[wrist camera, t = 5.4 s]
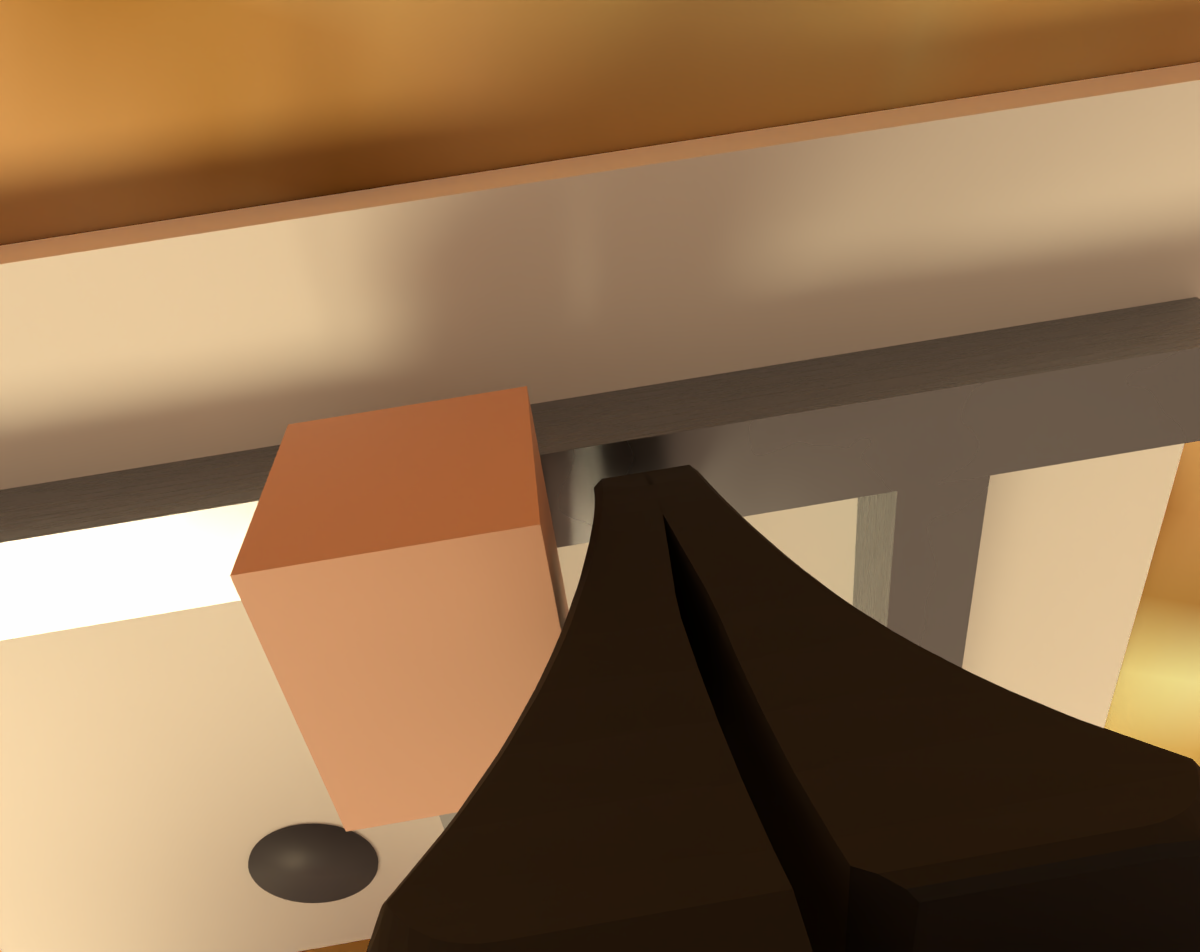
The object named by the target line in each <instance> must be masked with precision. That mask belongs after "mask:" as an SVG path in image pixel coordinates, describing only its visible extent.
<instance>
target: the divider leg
mask: <svg viewBox="0 0 1200 952" xmlns="http://www.w3.org/2000/svg"><path fill="white" fill-rule="evenodd" d="M230 577H231V579H232V581H233V584H234V586H235V588H236V590H237V593H238V595H239V597H240V599H241V601H242V604H243V606H244V608H245V610H246V612H247V615H248V617H249V619H250V621H251V623H252V626H253V628H254V630H255V632H256V634H257V637H258V639H259V641H260V643H261V645H262V648H263V650H264V652H265V654H266V657H267V659H268V661H269V663H270V665H271V668H272V670H273V672H274V674H275V676H276V679H277V681H278V683H279V685H280V687H281V690H282V692H283V694H284V696H285V698H286V701H287V703H288V705H289V707H290V709H291V712H292V714H293V716H294V718H295V721H296V723H297V725H298V727H299V729H300V732H301V734H302V736H303V738H304V740H305V743H306V745H307V747H308V749H309V751H310V754H311V756H312V758H313V760H314V762H315V765H316V767H317V769H318V771H319V773H320V776H321V778H322V780H323V782H324V785H325V787H326V789H327V791H328V793H329V796H330V798H331V800H332V802H333V804H334V807H335V809H336V811H337V813H338V815H339V818H340V820H341V822H342V824H343V826H344V829H345V831H346V832H347V831H353V830H359V829H365V828H370V827H376V826H382V825H387V824H393V823H399V822H405V821H410V820H416V819H422V818H427V817H433V816H439V817H440V819H441V822H442V825H443V828H444V830H445V828H446V827H447V826H448V824H449V823H450V822H451V820H452V819H453V818H454V816H455V815H456V814H457V812H458V811H459V809H460V808H461V807H462V805H463V804H464V802H465V801H466V799H467V798H468V796H469V795H470V794H471V792H472V791H473V789H474V788H475V786H476V785H477V783H478V782H479V781H480V779H481V778H482V776H483V775H484V773H485V772H486V770H487V769H488V768H489V766H490V765H491V763H492V762H493V760H494V759H495V757H496V756H497V754H498V753H499V751H500V749H501V748H502V746H503V745H504V743H505V741H506V740H507V738H508V736H509V735H510V733H511V731H512V730H513V728H514V726H515V724H516V723H517V721H518V719H519V717H520V715H521V714H522V712H523V710H524V708H525V706H526V704H527V703H528V701H529V699H530V697H531V695H532V694H533V692H534V690H535V688H536V686H537V684H538V682H539V680H540V678H541V676H542V674H543V672H544V669H545V667H546V665H547V663H548V661H549V659H550V657H551V654H552V652H553V650H554V648H555V645H556V643H557V640H558V638H559V636H560V633H561V631H562V628H563V626H564V623H565V620H566V617H567V614H568V612H569V610H568V604H567V599H566V594H565V588H564V583H563V577H562V572H561V567H560V561H559V556H558V551H557V545H556V540H555V535H554V529H553V524H552V518H551V513H550V508H549V502H548V497H547V492H546V486H545V481H544V475H543V470H542V465H541V459H540V454H539V449H538V443H537V438H536V433H535V427H534V422H533V416H532V411H531V406H530V400H529V395H528V390H527V386H524V387H518V388H512V389H506V390H499V391H493V392H487V393H481V394H475V395H468V396H462V397H456V398H450V399H443V400H437V401H431V402H425V403H419V404H412V405H406V406H400V407H394V408H387V409H381V410H375V411H369V412H363V413H356V414H350V415H344V416H338V417H331V418H325V419H319V420H313V421H307V422H300V423H294V424H288V426H287V429H286V431H285V434H284V437H283V439H282V442H281V444H280V447H279V450H278V452H277V455H276V457H275V460H274V463H273V465H272V468H271V470H270V473H269V476H268V478H267V481H266V483H265V486H264V489H263V491H262V494H261V496H260V499H259V502H258V504H257V507H256V509H255V512H254V515H253V517H252V520H251V522H250V525H249V528H248V530H247V533H246V535H245V538H244V541H243V543H242V546H241V548H240V551H239V554H238V556H237V559H236V561H235V564H234V567H233V569H232V572H231V574H230Z"/></svg>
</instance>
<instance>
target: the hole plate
mask: <svg viewBox="0 0 1200 952" xmlns="http://www.w3.org/2000/svg"><path fill="white" fill-rule="evenodd" d="M1192 297H1197V298H1199V299H1200V62H1196V63H1189V64H1183V65H1176V66H1170V67H1163V68H1157V69H1150V70H1144V71H1137V72H1131V73H1124V74H1117V75H1111V76H1104V77H1098V78H1091V79H1085V80H1078V81H1072V82H1065V83H1059V84H1052V85H1046V86H1039V87H1033V88H1026V89H1020V90H1013V91H1006V92H1000V93H993V94H987V95H980V96H974V97H967V98H961V99H954V100H948V101H941V102H935V103H928V104H922V105H915V106H908V107H902V108H895V109H889V110H882V111H876V112H869V113H863V114H856V115H850V116H843V117H837V118H830V119H824V120H817V121H810V122H804V123H797V124H791V125H784V126H778V127H771V128H765V129H758V130H752V131H745V132H739V133H732V134H726V135H719V136H712V137H706V138H699V139H693V140H686V141H680V142H673V143H667V144H660V145H654V146H647V147H641V148H634V149H628V150H621V151H614V152H608V153H601V154H595V155H588V156H582V157H575V158H569V159H562V160H556V161H549V162H543V163H536V164H530V165H523V166H517V167H510V168H503V169H497V170H490V171H484V172H477V173H471V174H464V175H458V176H451V177H445V178H438V179H432V180H425V181H419V182H412V183H405V184H399V185H392V186H386V187H379V188H373V189H366V190H360V191H353V192H347V193H340V194H334V195H327V196H321V197H314V198H307V199H301V200H294V201H288V202H281V203H275V204H268V205H262V206H255V207H249V208H242V209H236V210H229V211H223V212H216V213H209V214H203V215H196V216H190V217H183V218H177V219H170V220H164V221H157V222H151V223H144V224H138V225H131V226H125V227H118V228H111V229H105V230H98V231H92V232H85V233H79V234H72V235H66V236H59V237H53V238H46V239H40V240H33V241H27V242H20V243H14V244H7V245H0V490H3V489H9V488H15V487H21V486H28V485H34V484H40V483H46V482H52V481H59V480H65V479H71V478H77V477H83V476H90V475H96V474H102V473H108V472H114V471H121V470H127V469H133V468H139V467H145V466H151V465H158V464H164V463H170V462H176V461H182V460H189V459H195V458H201V457H207V456H213V455H220V454H226V453H232V452H238V451H244V450H251V449H257V448H263V447H269V446H275V445H280V444H281V442H282V439H283V437H284V434H285V431H286V429H287V426H288V424H294V423H300V422H307V421H313V420H319V419H325V418H331V417H338V416H344V415H350V414H356V413H363V412H369V411H375V410H381V409H387V408H394V407H400V406H406V405H412V404H419V403H425V402H431V401H437V400H443V399H450V398H456V397H462V396H468V395H475V394H481V393H487V392H493V391H499V390H506V389H512V388H518V387H524V386H527V390H528V395H529V400H530V404H536V403H542V402H548V401H554V400H560V399H567V398H573V397H579V396H585V395H591V394H598V393H604V392H610V391H616V390H622V389H629V388H635V387H641V386H647V385H653V384H660V383H666V382H672V381H678V380H684V379H691V378H697V377H703V376H709V375H715V374H721V373H728V372H734V371H740V370H746V369H752V368H759V367H765V366H771V365H777V364H783V363H790V362H796V361H802V360H808V359H814V358H821V357H827V356H833V355H839V354H845V353H852V352H858V351H864V350H870V349H876V348H883V347H889V346H895V345H901V344H907V343H914V342H920V341H926V340H932V339H938V338H945V337H951V336H957V335H963V334H969V333H975V332H982V331H988V330H994V329H1000V328H1006V327H1013V326H1019V325H1025V324H1031V323H1037V322H1044V321H1050V320H1056V319H1062V318H1068V317H1075V316H1081V315H1087V314H1093V313H1099V312H1106V311H1112V310H1118V309H1124V308H1130V307H1137V306H1143V305H1149V304H1155V303H1161V302H1168V301H1174V300H1180V299H1186V298H1192ZM1183 447H1184V443H1183V444H1177V445H1171V446H1165V447H1159V448H1153V449H1147V450H1141V451H1135V452H1129V453H1123V454H1117V455H1111V456H1105V457H1099V458H1093V459H1087V460H1081V461H1075V462H1069V463H1063V464H1057V465H1051V466H1045V467H1039V468H1033V469H1027V470H1021V471H1015V472H1009V473H1003V474H997V475H991V476H990V479H989V486H988V493H987V500H986V506H985V513H984V520H983V527H982V534H981V541H980V548H979V555H978V561H977V568H976V575H975V582H974V589H973V596H972V603H971V609H970V616H969V623H968V630H967V637H966V644H965V651H964V658H963V664H962V668H963V669H965V670H967V671H969V672H971V673H973V674H975V675H977V676H979V677H981V678H984V679H986V680H988V681H990V682H992V683H994V684H996V685H999V686H1001V687H1003V688H1005V689H1007V690H1009V691H1012V692H1014V693H1017V694H1019V695H1021V696H1024V697H1026V698H1029V699H1031V700H1033V701H1036V702H1038V703H1040V704H1043V705H1045V706H1048V707H1050V708H1052V709H1055V710H1057V711H1059V712H1062V713H1064V714H1067V715H1069V716H1072V717H1074V718H1077V719H1079V720H1082V721H1085V722H1088V723H1091V724H1093V725H1096V726H1099V727H1102V728H1104V726H1105V722H1106V719H1107V715H1108V712H1109V708H1110V705H1111V701H1112V698H1113V694H1114V691H1115V687H1116V683H1117V680H1118V676H1119V673H1120V669H1121V666H1122V662H1123V659H1124V655H1125V652H1126V648H1127V645H1128V641H1129V638H1130V634H1131V631H1132V627H1133V623H1134V620H1135V616H1136V613H1137V609H1138V606H1139V602H1140V599H1141V595H1142V592H1143V588H1144V585H1145V581H1146V578H1147V574H1148V571H1149V567H1150V563H1151V560H1152V556H1153V553H1154V549H1155V546H1156V542H1157V539H1158V535H1159V532H1160V528H1161V525H1162V521H1163V518H1164V514H1165V511H1166V507H1167V503H1168V500H1169V496H1170V493H1171V489H1172V486H1173V482H1174V479H1175V475H1176V472H1177V468H1178V465H1179V461H1180V458H1181V454H1182V451H1183ZM857 504H858V498H853V499H847V500H841V501H835V502H829V503H823V504H817V505H811V506H805V507H799V508H793V509H787V510H781V511H775V512H769V513H763V514H757V515H751V516H745V517H743V518H744V519H746V520H747V521H748V522H749V523H750V524H751V525H752V526H753V527H754V528H755V529H756V530H758V531H759V532H760V533H761V534H762V535H763V536H764V537H766V538H767V539H768V540H769V541H770V542H771V543H772V544H774V545H775V546H776V547H777V548H778V549H779V550H780V551H782V552H783V553H784V554H785V555H786V556H787V557H789V558H790V559H791V560H792V561H794V562H795V563H796V564H797V565H799V566H800V567H801V568H802V569H803V570H805V571H806V572H807V573H809V574H810V575H811V576H813V577H814V578H815V579H817V580H818V581H819V582H821V583H822V584H823V585H825V586H826V587H827V588H828V589H830V590H831V591H833V592H834V593H835V594H837V595H838V596H840V597H841V598H842V599H844V600H845V601H847V602H848V603H850V604H851V605H852V606H853V587H854V566H855V545H856V524H857ZM588 545H589V543H583V544H577V545H571V546H565V547H559V548H557V551H558V556H559V561H560V567H561V572H562V577H563V583H564V588H565V594H566V599H567V604H568V610H569V609H570V606H571V603H572V600H573V598H574V595H575V592H576V589H577V586H578V583H579V580H580V576H581V572H582V568H583V564H584V561H585V557H586V553H587V549H588ZM443 831H444V828H443V825H442V822H441V819H440V817H439V816H433V817H427V818H422V819H416V820H410V821H405V822H399V823H393V824H387V825H382V826H376V827H370V828H365V829H359V830H353V831H347V832H346V831H345V829H344V826H343V824H342V822H341V820H340V818H339V815H338V813H337V811H336V809H335V807H334V804H333V802H332V800H331V798H330V796H329V793H328V791H327V789H326V787H325V785H324V782H323V780H322V778H321V776H320V773H319V771H318V769H317V767H316V765H315V762H314V760H313V758H312V756H311V754H310V751H309V749H308V747H307V745H306V743H305V740H304V738H303V736H302V734H301V732H300V729H299V727H298V725H297V723H296V721H295V718H294V716H293V714H292V712H291V709H290V707H289V705H288V703H287V701H286V698H285V696H284V694H283V692H282V690H281V687H280V685H279V683H278V681H277V679H276V676H275V674H274V672H273V670H272V668H271V665H270V663H269V661H268V659H267V657H266V654H265V652H264V650H263V648H262V645H261V643H260V641H259V639H258V637H257V634H256V632H255V630H254V628H253V626H252V623H251V621H250V619H249V617H248V615H247V612H246V610H245V608H244V606H243V604H242V601H241V600H240V601H234V602H228V603H222V604H216V605H210V606H204V607H198V608H192V609H186V610H180V611H174V612H168V613H162V614H156V615H150V616H144V617H138V618H132V619H126V620H120V621H114V622H108V623H102V624H96V625H90V626H84V627H78V628H72V629H66V630H60V631H54V632H48V633H42V634H36V635H30V636H24V637H18V638H12V639H6V640H0V950H1V951H2V952H299V951H305V950H310V949H316V948H321V947H327V946H333V945H338V944H344V943H349V942H355V941H360V940H366V939H371V936H372V933H373V930H374V927H375V924H376V921H377V918H378V915H379V912H380V909H381V907H382V905H383V903H384V902H385V901H386V900H387V898H388V897H389V896H390V895H391V894H392V893H393V892H394V890H395V889H396V888H397V887H398V885H399V884H400V883H401V882H402V881H403V879H404V878H405V877H406V876H407V875H408V873H409V872H410V871H411V870H412V869H413V867H414V866H415V865H416V864H417V862H418V861H419V860H420V859H421V858H422V856H423V855H424V854H425V853H426V852H427V850H428V849H429V848H430V847H431V846H432V844H433V843H434V842H435V841H436V840H437V838H438V837H439V836H440V835H441V833H442V832H443Z"/></svg>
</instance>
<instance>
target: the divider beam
mask: <svg viewBox="0 0 1200 952" xmlns="http://www.w3.org/2000/svg"><path fill="white" fill-rule="evenodd" d="M530 406H531V411H532V416H533V422H534V427H535V433H536V438H537V443H538V449H539V454H540V459H541V465H542V470H543V475H544V481H545V486H546V492H547V497H548V502H549V508H550V513H551V518H552V524H553V529H554V535H555V540H556V545H557V548H559V547H565V546H571V545H577V544H583V543H589V541H590V536H591V530H592V525H593V518H594V508H595V494H594V487H595V486H596V484H597V483H598V482H599V481H600V480H601V479H604V478H610V477H616V476H622V475H628V474H634V473H641V472H647V471H653V470H659V469H665V468H671V467H678V466H684V465H691V466H692V467H693V468H695V469H696V470H697V471H698V472H699V473H700V474H701V475H702V476H703V477H704V478H705V479H706V480H707V481H708V482H709V484H710V485H711V486H712V487H713V488H714V489H715V490H716V491H717V492H718V493H719V494H720V495H721V496H722V497H723V498H724V499H725V500H726V501H727V502H728V503H729V504H730V505H731V506H732V507H733V508H734V509H735V510H736V511H737V512H738V513H739V514H740V515H741V516H742V517H745V516H751V515H757V514H763V513H769V512H775V511H781V510H787V509H793V508H799V507H805V506H811V505H817V504H823V503H829V502H835V501H841V500H847V499H853V498H858V504H857V524H856V545H855V566H854V587H853V606H854V607H855V608H857V609H859V610H860V611H862V612H863V613H865V614H866V615H868V616H870V617H871V618H873V619H874V620H876V621H878V622H879V623H881V624H882V625H884V626H886V627H887V628H889V629H890V630H892V631H894V632H895V633H897V634H899V635H901V636H903V637H904V638H906V639H908V640H910V641H911V642H913V643H915V644H917V645H918V646H920V647H922V648H924V649H926V650H928V651H930V652H932V653H934V654H936V655H938V656H940V657H942V658H943V659H945V660H947V661H949V662H951V663H953V664H955V665H957V666H959V667H961V668H962V664H963V658H964V651H965V644H966V637H967V630H968V623H969V616H970V609H971V603H972V596H973V589H974V582H975V575H976V568H977V561H978V555H979V548H980V541H981V534H982V527H983V520H984V513H985V506H986V500H987V493H988V486H989V479H990V476H991V475H997V474H1003V473H1009V472H1015V471H1021V470H1027V469H1033V468H1039V467H1045V466H1051V465H1057V464H1063V463H1069V462H1075V461H1081V460H1087V459H1093V458H1099V457H1105V456H1111V455H1117V454H1123V453H1129V452H1135V451H1141V450H1147V449H1153V448H1159V447H1165V446H1171V445H1177V444H1183V443H1189V442H1195V441H1200V299H1199V298H1197V297H1192V298H1186V299H1180V300H1174V301H1168V302H1161V303H1155V304H1149V305H1143V306H1137V307H1130V308H1124V309H1118V310H1112V311H1106V312H1099V313H1093V314H1087V315H1081V316H1075V317H1068V318H1062V319H1056V320H1050V321H1044V322H1037V323H1031V324H1025V325H1019V326H1013V327H1006V328H1000V329H994V330H988V331H982V332H975V333H969V334H963V335H957V336H951V337H945V338H938V339H932V340H926V341H920V342H914V343H907V344H901V345H895V346H889V347H883V348H876V349H870V350H864V351H858V352H852V353H845V354H839V355H833V356H827V357H821V358H814V359H808V360H802V361H796V362H790V363H783V364H777V365H771V366H765V367H759V368H752V369H746V370H740V371H734V372H728V373H721V374H715V375H709V376H703V377H697V378H691V379H684V380H678V381H672V382H666V383H660V384H653V385H647V386H641V387H635V388H629V389H622V390H616V391H610V392H604V393H598V394H591V395H585V396H579V397H573V398H567V399H560V400H554V401H548V402H542V403H536V404H530ZM279 447H280V445H275V446H269V447H263V448H257V449H251V450H244V451H238V452H232V453H226V454H220V455H213V456H207V457H201V458H195V459H189V460H182V461H176V462H170V463H164V464H158V465H151V466H145V467H139V468H133V469H127V470H121V471H114V472H108V473H102V474H96V475H90V476H83V477H77V478H71V479H65V480H59V481H52V482H46V483H40V484H34V485H28V486H21V487H15V488H9V489H3V490H0V640H6V639H12V638H18V637H24V636H30V635H36V634H42V633H48V632H54V631H60V630H66V629H72V628H78V627H84V626H90V625H96V624H102V623H108V622H114V621H120V620H126V619H132V618H138V617H144V616H150V615H156V614H162V613H168V612H174V611H180V610H186V609H192V608H198V607H204V606H210V605H216V604H222V603H228V602H234V601H240V600H241V599H240V597H239V595H238V593H237V590H236V588H235V586H234V584H233V581H232V579H231V577H230V574H231V572H232V569H233V567H234V564H235V561H236V559H237V556H238V554H239V551H240V548H241V546H242V543H243V541H244V538H245V535H246V533H247V530H248V528H249V525H250V522H251V520H252V517H253V515H254V512H255V509H256V507H257V504H258V502H259V499H260V496H261V494H262V491H263V489H264V486H265V483H266V481H267V478H268V476H269V473H270V470H271V468H272V465H273V463H274V460H275V457H276V455H277V452H278V450H279Z"/></svg>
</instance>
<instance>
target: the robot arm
mask: <svg viewBox="0 0 1200 952" xmlns="http://www.w3.org/2000/svg"><path fill="white" fill-rule="evenodd" d="M594 494H595V508H594V518H593V525H592V530H591V536H590V541H589V545H588V549H587V553H586V557H585V561H584V564H583V568H582V572H581V576H580V580H579V583H578V586H577V589H576V592H575V595H574V598H573V600H572V603H571V606H570V609H569V612H568V614H567V617H566V620H565V623H564V626H563V628H562V631H561V633H560V636H559V638H558V640H557V643H556V645H555V648H554V650H553V652H552V654H551V657H550V659H549V661H548V663H547V665H546V667H545V669H544V672H543V674H542V676H541V678H540V680H539V682H538V684H537V686H536V688H535V690H534V692H533V694H532V695H531V697H530V699H529V701H528V703H527V704H526V706H525V708H524V710H523V712H522V714H521V715H520V717H519V719H518V721H517V723H516V724H515V726H514V728H513V730H512V731H511V733H510V735H509V736H508V738H507V740H506V741H505V743H504V745H503V746H502V748H501V749H500V751H499V753H498V754H497V756H496V757H495V759H494V760H493V762H492V763H491V765H490V766H489V768H488V769H487V770H486V772H485V773H484V775H483V776H482V778H481V779H480V781H479V782H478V783H477V785H476V786H475V788H474V789H473V791H472V792H471V794H470V795H469V796H468V798H467V799H466V801H465V802H464V804H463V805H462V807H461V808H460V809H459V811H458V812H457V814H456V815H455V816H454V818H453V819H452V820H451V822H450V823H449V824H448V826H447V827H446V828H445V830H444V831H443V832H442V833H441V835H440V836H439V837H438V838H437V840H436V841H435V842H434V843H433V844H432V846H431V847H430V848H429V849H428V850H427V852H426V853H425V854H424V855H423V856H422V858H421V859H420V860H419V861H418V862H417V864H416V865H415V866H414V867H413V869H412V870H411V871H410V872H409V873H408V875H407V876H406V877H405V878H404V879H403V881H402V882H401V883H400V884H399V885H398V887H397V888H396V889H395V890H394V892H393V893H392V894H391V895H390V896H389V897H388V898H387V900H386V901H385V902H384V903H383V905H382V907H381V909H380V912H379V915H378V918H377V921H376V924H375V927H374V930H373V933H372V936H371V939H370V942H369V946H368V949H367V952H1200V767H1199V766H1198V765H1197V763H1196V762H1195V761H1194V760H1193V759H1191V758H1188V757H1185V756H1182V755H1179V754H1176V753H1174V752H1171V751H1168V750H1165V749H1162V748H1159V747H1156V746H1154V745H1151V744H1148V743H1145V742H1142V741H1139V740H1136V739H1134V738H1131V737H1128V736H1125V735H1122V734H1119V733H1116V732H1113V731H1111V730H1108V729H1105V728H1102V727H1099V726H1096V725H1093V724H1091V723H1088V722H1085V721H1082V720H1079V719H1077V718H1074V717H1072V716H1069V715H1067V714H1064V713H1062V712H1059V711H1057V710H1055V709H1052V708H1050V707H1048V706H1045V705H1043V704H1040V703H1038V702H1036V701H1033V700H1031V699H1029V698H1026V697H1024V696H1021V695H1019V694H1017V693H1014V692H1012V691H1009V690H1007V689H1005V688H1003V687H1001V686H999V685H996V684H994V683H992V682H990V681H988V680H986V679H984V678H981V677H979V676H977V675H975V674H973V673H971V672H969V671H967V670H965V669H963V668H961V667H959V666H957V665H955V664H953V663H951V662H949V661H947V660H945V659H943V658H942V657H940V656H938V655H936V654H934V653H932V652H930V651H928V650H926V649H924V648H922V647H920V646H918V645H917V644H915V643H913V642H911V641H910V640H908V639H906V638H904V637H903V636H901V635H899V634H897V633H895V632H894V631H892V630H890V629H889V628H887V627H886V626H884V625H882V624H881V623H879V622H878V621H876V620H874V619H873V618H871V617H870V616H868V615H866V614H865V613H863V612H862V611H860V610H859V609H857V608H855V607H854V606H852V605H851V604H850V603H848V602H847V601H845V600H844V599H842V598H841V597H840V596H838V595H837V594H835V593H834V592H833V591H831V590H830V589H828V588H827V587H826V586H825V585H823V584H822V583H821V582H819V581H818V580H817V579H815V578H814V577H813V576H811V575H810V574H809V573H807V572H806V571H805V570H803V569H802V568H801V567H800V566H799V565H797V564H796V563H795V562H794V561H792V560H791V559H790V558H789V557H787V556H786V555H785V554H784V553H783V552H782V551H780V550H779V549H778V548H777V547H776V546H775V545H774V544H772V543H771V542H770V541H769V540H768V539H767V538H766V537H764V536H763V535H762V534H761V533H760V532H759V531H758V530H756V529H755V528H754V527H753V526H752V525H751V524H750V523H749V522H748V521H747V520H746V519H744V518H743V517H742V516H741V515H740V514H739V513H738V512H737V511H736V510H735V509H734V508H733V507H732V506H731V505H730V504H729V503H728V502H727V501H726V500H725V499H724V498H723V497H722V496H721V495H720V494H719V493H718V492H717V491H716V490H715V489H714V488H713V487H712V486H711V485H710V484H709V482H708V481H707V480H706V479H705V478H704V477H703V476H702V475H701V474H700V473H699V472H698V471H697V470H696V469H695V468H693V467H692V466H691V465H684V466H678V467H671V468H665V469H659V470H653V471H647V472H641V473H634V474H628V475H622V476H616V477H610V478H604V479H601V480H600V481H599V482H598V483H597V484H596V486H595V487H594Z"/></svg>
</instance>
